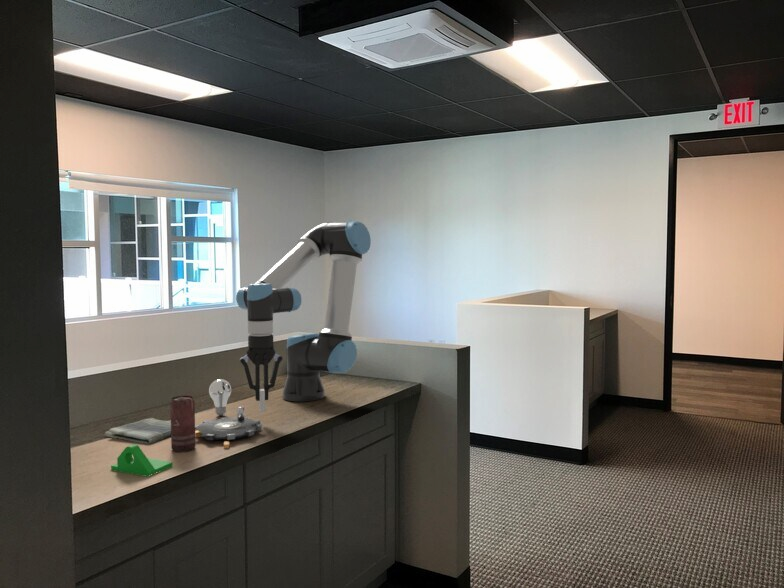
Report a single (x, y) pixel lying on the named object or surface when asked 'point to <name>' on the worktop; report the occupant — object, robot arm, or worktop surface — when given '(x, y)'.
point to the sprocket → (228, 427)
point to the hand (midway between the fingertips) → (262, 410)
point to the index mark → (226, 444)
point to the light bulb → (220, 395)
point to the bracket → (138, 462)
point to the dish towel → (142, 431)
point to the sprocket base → (230, 439)
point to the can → (182, 423)
